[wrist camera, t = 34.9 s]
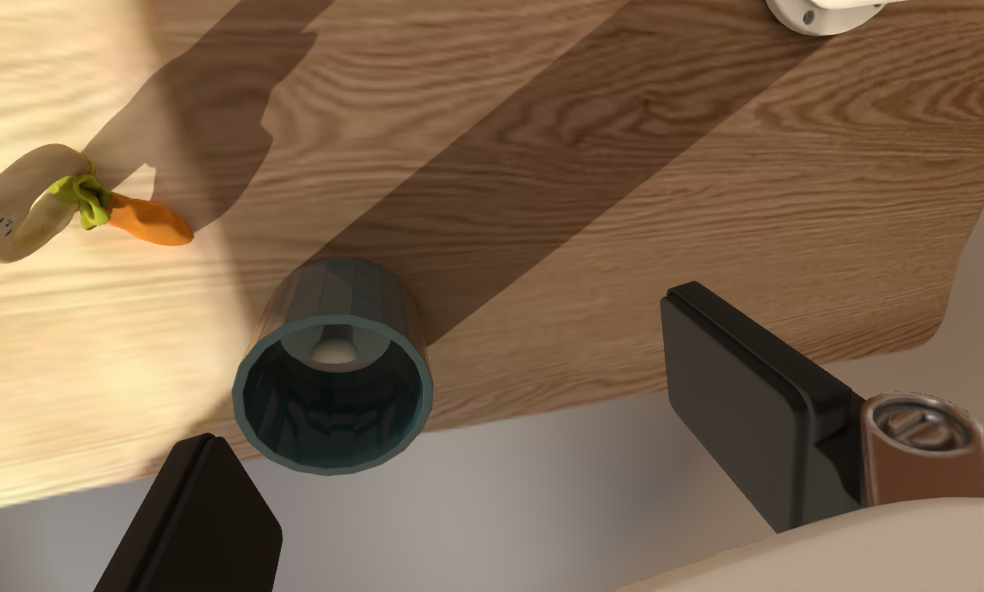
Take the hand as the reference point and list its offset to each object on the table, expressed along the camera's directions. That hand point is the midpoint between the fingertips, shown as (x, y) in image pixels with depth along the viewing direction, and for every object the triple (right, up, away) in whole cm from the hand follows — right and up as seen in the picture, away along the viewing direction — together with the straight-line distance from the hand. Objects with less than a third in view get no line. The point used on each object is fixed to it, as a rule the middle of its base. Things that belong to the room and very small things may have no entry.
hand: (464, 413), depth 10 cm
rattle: (-24, +7, +21) cm, 32 cm away
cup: (-10, 0, +27) cm, 29 cm away
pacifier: (-11, 0, +27) cm, 29 cm away
